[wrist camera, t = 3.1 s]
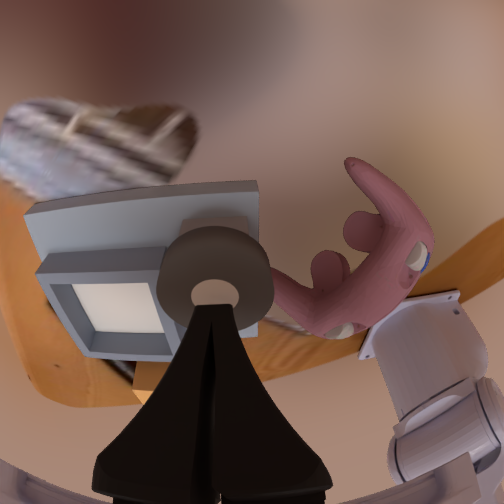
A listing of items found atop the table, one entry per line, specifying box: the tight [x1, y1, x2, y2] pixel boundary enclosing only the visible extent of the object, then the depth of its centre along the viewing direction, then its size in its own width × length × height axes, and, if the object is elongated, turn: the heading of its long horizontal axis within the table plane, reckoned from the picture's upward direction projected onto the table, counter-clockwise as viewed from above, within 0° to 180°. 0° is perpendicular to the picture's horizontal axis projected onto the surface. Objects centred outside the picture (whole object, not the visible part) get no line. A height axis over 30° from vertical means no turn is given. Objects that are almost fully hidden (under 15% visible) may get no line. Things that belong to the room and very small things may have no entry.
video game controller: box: [270, 157, 434, 339], centre depth 15 cm, size 10×5×7 cm, turn 148°
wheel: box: [156, 226, 275, 331], centre depth 13 cm, size 5×5×4 cm
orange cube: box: [132, 361, 171, 405], centre depth 21 cm, size 5×5×5 cm
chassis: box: [23, 180, 259, 362], centre depth 16 cm, size 14×11×4 cm
